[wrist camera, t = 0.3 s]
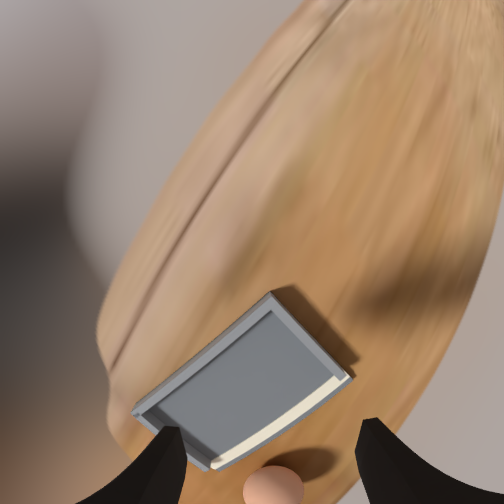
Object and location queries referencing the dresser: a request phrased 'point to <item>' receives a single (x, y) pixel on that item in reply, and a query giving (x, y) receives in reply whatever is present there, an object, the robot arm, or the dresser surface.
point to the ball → (273, 486)
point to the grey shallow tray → (244, 387)
